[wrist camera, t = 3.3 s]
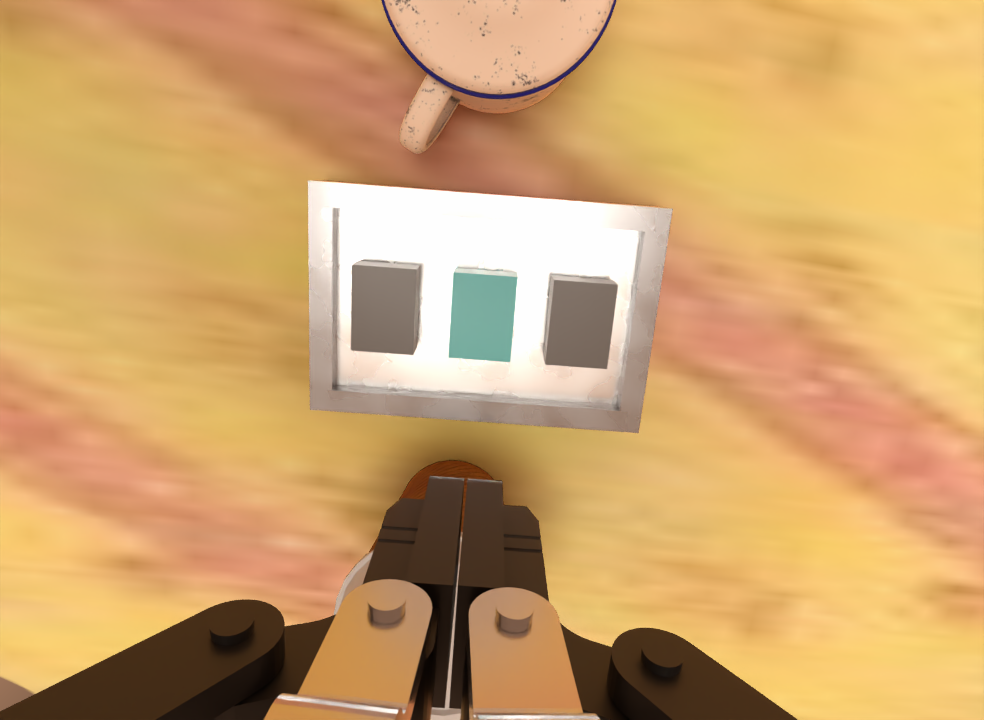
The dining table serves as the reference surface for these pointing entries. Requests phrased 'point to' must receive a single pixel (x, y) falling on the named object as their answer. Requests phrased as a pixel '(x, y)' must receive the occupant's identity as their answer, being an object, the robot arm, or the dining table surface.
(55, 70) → the dining table surface
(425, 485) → the disposable coffee cup
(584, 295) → the dark taupe block
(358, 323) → the grey rectangular prism
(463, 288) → the teal rectangular box
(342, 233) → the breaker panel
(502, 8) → the teacup with lid
